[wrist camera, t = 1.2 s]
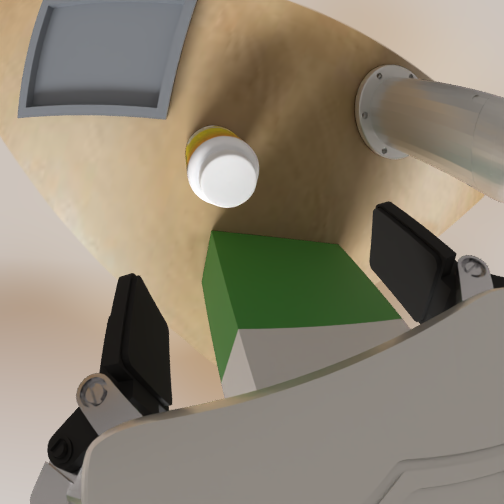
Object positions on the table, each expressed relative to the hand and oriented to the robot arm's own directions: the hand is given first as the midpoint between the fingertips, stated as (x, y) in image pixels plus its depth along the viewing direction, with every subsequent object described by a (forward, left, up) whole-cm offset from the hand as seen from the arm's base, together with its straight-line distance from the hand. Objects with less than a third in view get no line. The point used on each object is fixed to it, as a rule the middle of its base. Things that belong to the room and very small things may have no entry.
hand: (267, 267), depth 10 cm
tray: (+8, -14, -20) cm, 26 cm away
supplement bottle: (0, 0, -20) cm, 20 cm away
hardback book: (-4, +16, -20) cm, 26 cm away
